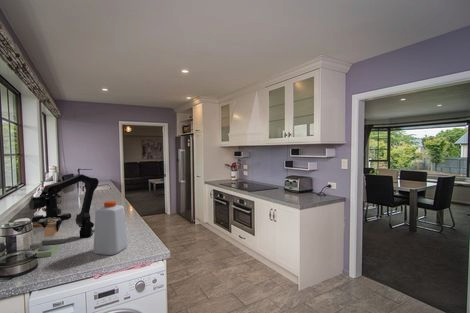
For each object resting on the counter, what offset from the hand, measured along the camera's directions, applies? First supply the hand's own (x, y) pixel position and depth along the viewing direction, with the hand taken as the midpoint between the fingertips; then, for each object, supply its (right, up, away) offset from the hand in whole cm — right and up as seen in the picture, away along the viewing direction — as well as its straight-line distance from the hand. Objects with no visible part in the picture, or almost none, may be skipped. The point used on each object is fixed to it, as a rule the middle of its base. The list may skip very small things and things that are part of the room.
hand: (52, 231), depth 152 cm
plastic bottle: (+38, -9, -5) cm, 39 cm away
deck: (0, -9, -5) cm, 10 cm away
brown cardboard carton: (0, -1, 0) cm, 1 cm away
